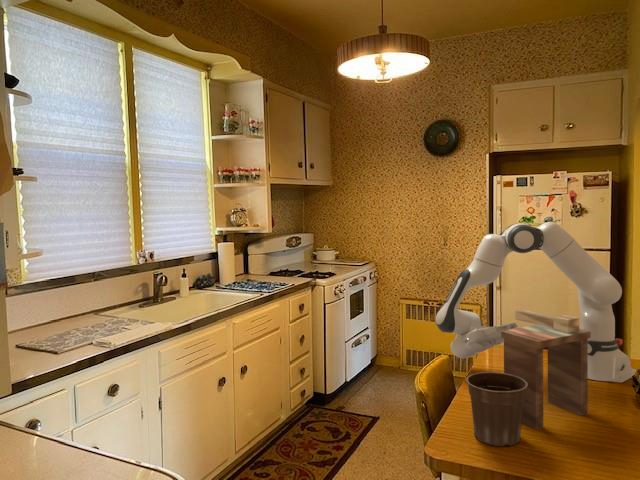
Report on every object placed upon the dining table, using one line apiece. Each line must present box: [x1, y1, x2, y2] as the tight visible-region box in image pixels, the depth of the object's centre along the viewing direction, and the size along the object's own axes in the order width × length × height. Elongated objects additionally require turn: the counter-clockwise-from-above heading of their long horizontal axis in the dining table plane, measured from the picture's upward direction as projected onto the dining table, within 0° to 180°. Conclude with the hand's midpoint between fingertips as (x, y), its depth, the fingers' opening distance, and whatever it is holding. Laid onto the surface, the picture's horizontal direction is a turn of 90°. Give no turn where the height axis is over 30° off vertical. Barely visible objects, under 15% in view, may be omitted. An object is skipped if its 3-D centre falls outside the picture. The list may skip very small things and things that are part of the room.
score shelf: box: [501, 324, 591, 430], centre depth 151 cm, size 22×14×26 cm, turn 115°
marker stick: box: [514, 309, 580, 333], centre depth 157 cm, size 5×21×4 cm, turn 25°
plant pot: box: [465, 371, 528, 447], centre depth 137 cm, size 16×16×16 cm
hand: (505, 326), depth 172 cm, fingers open, 8 cm apart
